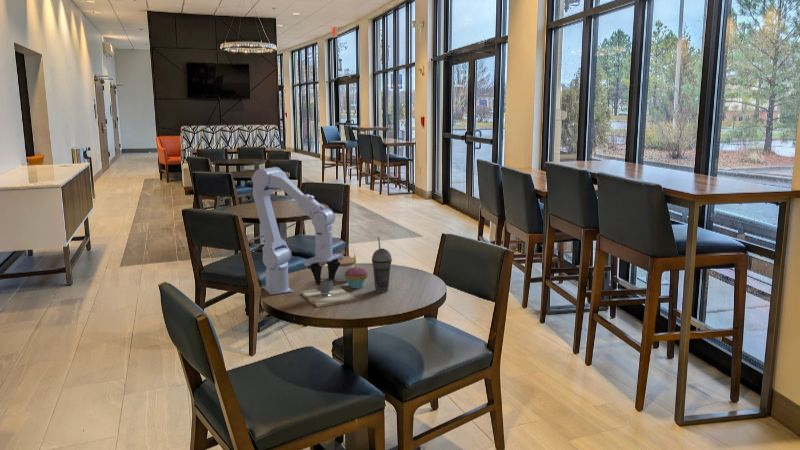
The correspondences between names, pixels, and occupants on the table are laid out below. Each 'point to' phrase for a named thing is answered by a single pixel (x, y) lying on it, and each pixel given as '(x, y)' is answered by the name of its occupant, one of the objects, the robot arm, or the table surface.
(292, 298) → the table surface
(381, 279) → the beverage cup
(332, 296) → the board
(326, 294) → the stud
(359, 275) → the cupcake
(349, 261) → the lidded jar
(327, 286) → the cap
